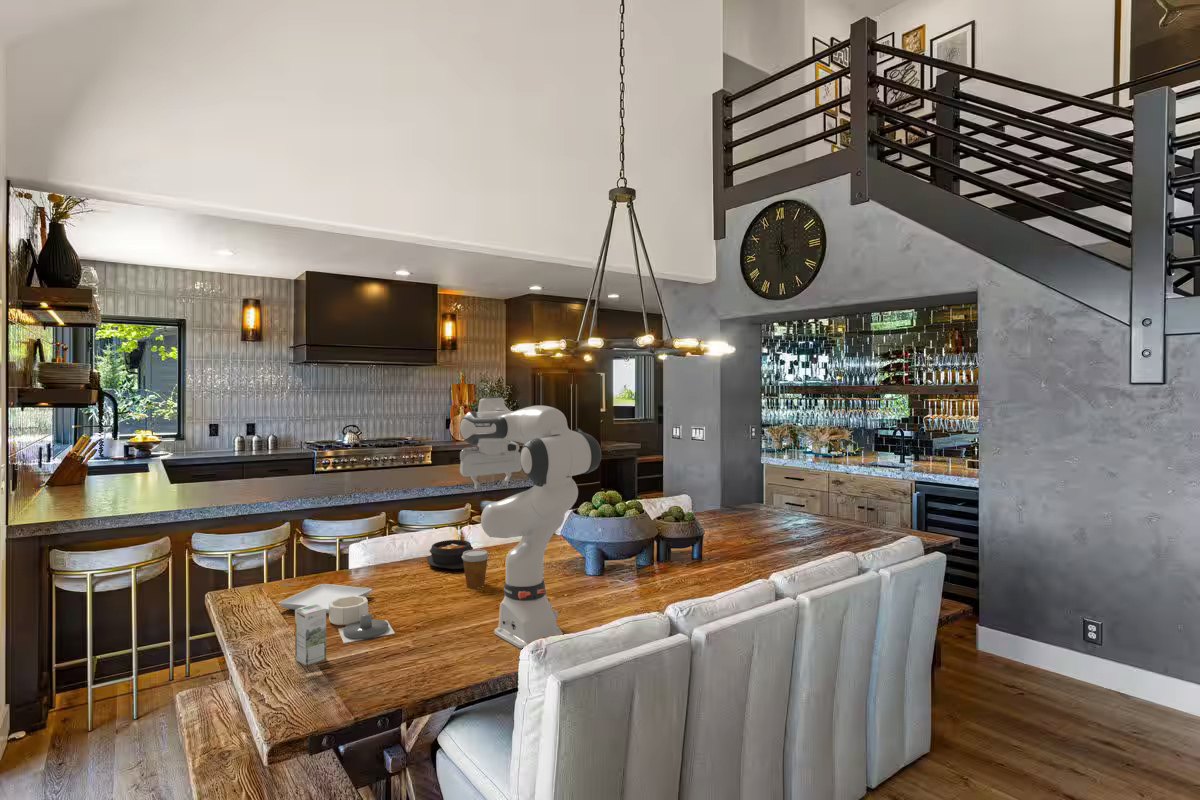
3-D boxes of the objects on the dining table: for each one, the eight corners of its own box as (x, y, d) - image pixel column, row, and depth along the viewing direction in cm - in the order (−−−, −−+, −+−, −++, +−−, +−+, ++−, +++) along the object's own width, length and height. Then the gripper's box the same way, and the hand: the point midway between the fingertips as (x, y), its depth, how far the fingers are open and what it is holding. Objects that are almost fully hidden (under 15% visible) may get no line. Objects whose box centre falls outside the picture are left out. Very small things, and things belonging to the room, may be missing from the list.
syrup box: (316, 655, 178) (315, 602, 178) (327, 661, 174) (326, 607, 174) (295, 662, 174) (293, 608, 173) (306, 668, 170) (305, 613, 169)
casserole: (488, 567, 260) (488, 546, 260) (446, 576, 248) (446, 554, 247) (456, 554, 279) (456, 534, 278) (415, 563, 266) (415, 542, 266)
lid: (392, 634, 191) (392, 617, 190) (346, 642, 185) (346, 625, 185) (383, 620, 202) (383, 604, 201) (340, 627, 196) (340, 611, 195)
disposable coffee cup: (491, 581, 241) (491, 549, 241) (484, 590, 232) (484, 556, 231) (466, 581, 242) (466, 548, 242) (458, 589, 233) (458, 555, 232)
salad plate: (373, 597, 226) (373, 587, 226) (333, 619, 206) (332, 608, 205) (321, 592, 232) (321, 582, 232) (276, 613, 211) (276, 602, 211)
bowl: (370, 623, 201) (369, 604, 201) (332, 630, 196) (331, 610, 196) (364, 612, 210) (363, 593, 210) (327, 618, 205) (327, 599, 205)
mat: (395, 635, 191) (394, 633, 191) (343, 645, 184) (343, 642, 184) (386, 622, 202) (386, 619, 202) (337, 631, 195) (337, 628, 195)
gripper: (462, 450, 207) (462, 492, 209) (523, 445, 216) (523, 486, 218) (457, 446, 212) (457, 487, 214) (517, 441, 222) (517, 481, 224)
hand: (491, 487), depth 216 cm, fingers open, 8 cm apart
